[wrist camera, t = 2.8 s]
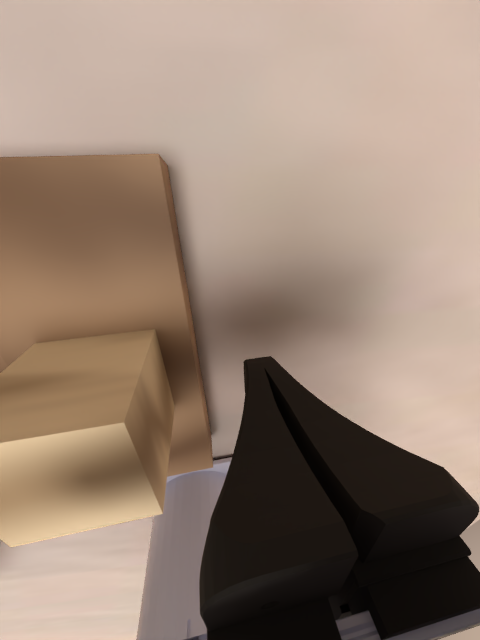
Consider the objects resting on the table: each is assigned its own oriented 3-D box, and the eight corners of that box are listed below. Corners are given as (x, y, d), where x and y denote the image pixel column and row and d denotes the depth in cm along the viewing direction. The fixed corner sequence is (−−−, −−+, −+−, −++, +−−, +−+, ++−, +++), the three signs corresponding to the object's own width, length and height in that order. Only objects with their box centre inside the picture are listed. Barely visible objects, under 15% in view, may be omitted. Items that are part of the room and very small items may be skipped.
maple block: (174, 406, 13) (162, 514, 8) (78, 421, 12) (10, 547, 8) (155, 329, 10) (123, 422, 6) (34, 343, 10) (-101, 459, 5)
